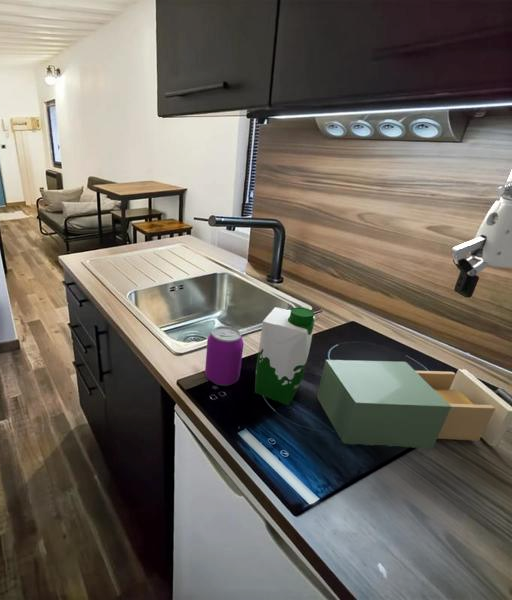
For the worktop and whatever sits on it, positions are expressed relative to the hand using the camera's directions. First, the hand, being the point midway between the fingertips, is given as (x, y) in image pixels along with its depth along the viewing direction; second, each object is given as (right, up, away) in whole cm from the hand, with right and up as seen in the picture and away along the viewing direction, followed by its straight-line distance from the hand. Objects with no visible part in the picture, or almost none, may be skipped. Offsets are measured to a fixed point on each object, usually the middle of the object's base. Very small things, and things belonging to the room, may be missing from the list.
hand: (493, 294), depth 63 cm
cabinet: (-16, -24, +7) cm, 30 cm away
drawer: (-3, -24, +5) cm, 24 cm away
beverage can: (-40, -19, +22) cm, 50 cm away
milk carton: (-30, -21, +17) cm, 40 cm away
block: (-4, -23, +5) cm, 24 cm away
